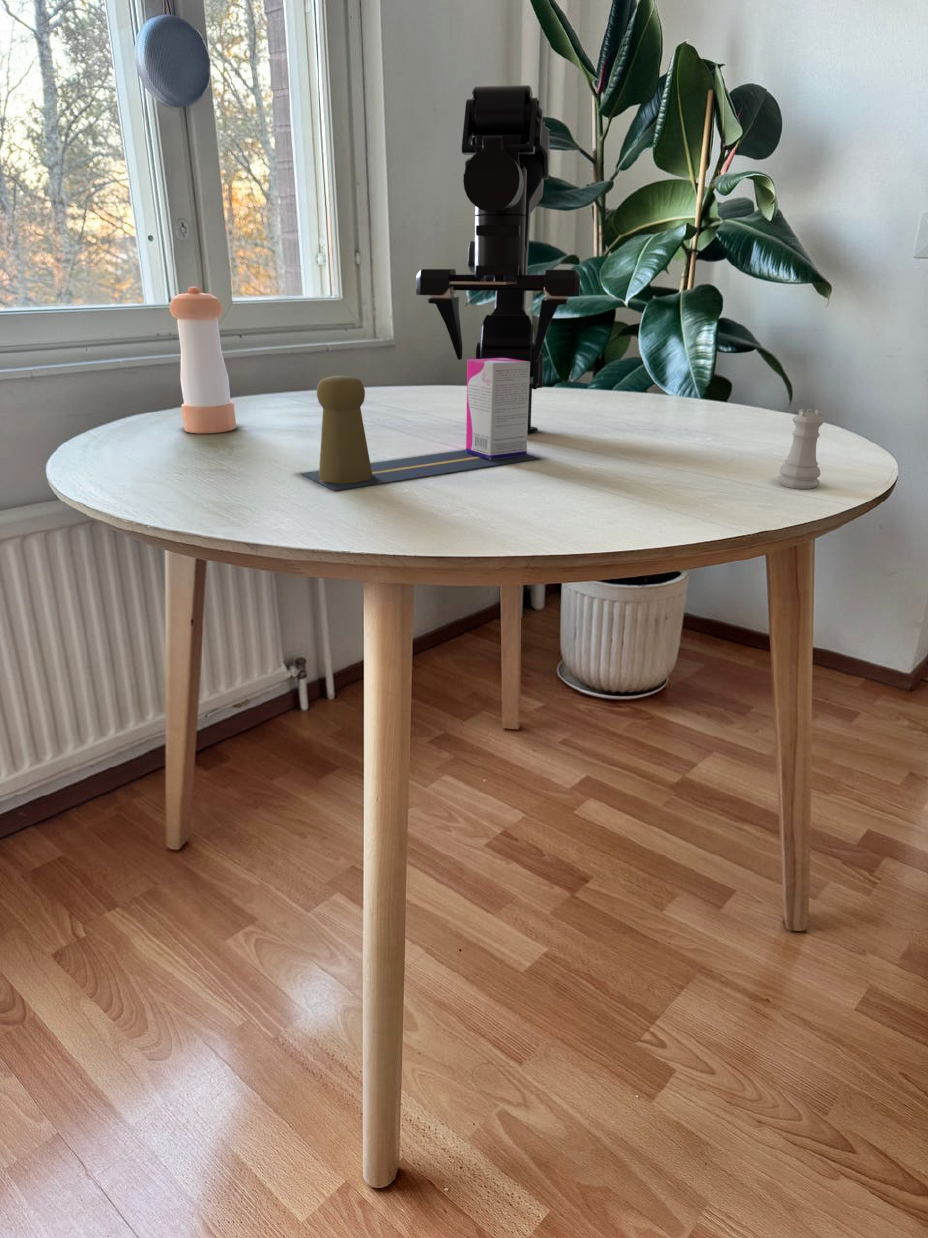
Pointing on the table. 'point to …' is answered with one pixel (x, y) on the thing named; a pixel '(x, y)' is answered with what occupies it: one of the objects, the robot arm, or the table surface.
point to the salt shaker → (202, 364)
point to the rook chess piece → (803, 452)
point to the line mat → (420, 468)
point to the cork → (343, 431)
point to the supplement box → (497, 407)
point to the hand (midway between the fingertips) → (497, 359)
